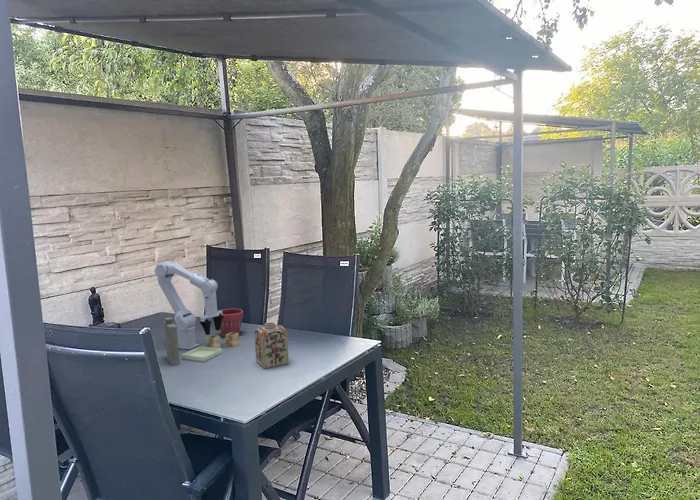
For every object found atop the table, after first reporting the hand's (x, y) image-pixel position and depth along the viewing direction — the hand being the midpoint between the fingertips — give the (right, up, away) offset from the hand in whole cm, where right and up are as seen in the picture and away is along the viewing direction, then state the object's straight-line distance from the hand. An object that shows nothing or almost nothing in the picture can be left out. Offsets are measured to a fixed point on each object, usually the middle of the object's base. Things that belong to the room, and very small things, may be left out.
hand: (212, 332), depth 253 cm
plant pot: (+3, -5, +24) cm, 25 cm away
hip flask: (-15, -11, -15) cm, 23 cm away
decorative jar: (+33, -10, -23) cm, 41 cm away
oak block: (+9, -7, +4) cm, 12 cm away
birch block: (0, -8, +1) cm, 8 cm away
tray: (-2, -10, -10) cm, 14 cm away
